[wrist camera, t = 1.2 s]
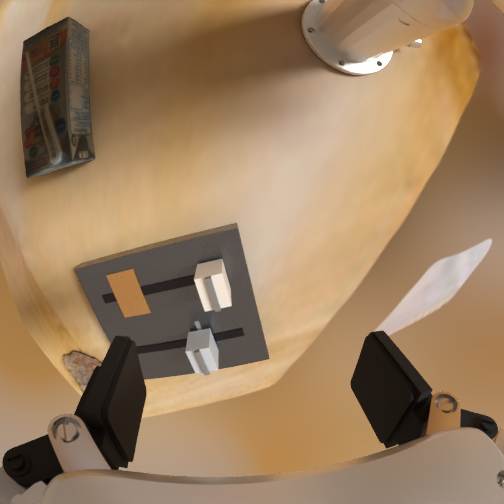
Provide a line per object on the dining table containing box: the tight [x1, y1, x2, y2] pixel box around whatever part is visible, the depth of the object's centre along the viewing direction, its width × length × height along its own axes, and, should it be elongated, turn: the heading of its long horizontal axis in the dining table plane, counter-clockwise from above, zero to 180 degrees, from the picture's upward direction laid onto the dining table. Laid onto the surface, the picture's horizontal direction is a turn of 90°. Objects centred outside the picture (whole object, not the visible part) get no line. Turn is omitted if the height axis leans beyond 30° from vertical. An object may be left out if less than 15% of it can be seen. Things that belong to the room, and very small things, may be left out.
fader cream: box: [194, 259, 232, 312], centre depth 31 cm, size 3×4×4 cm
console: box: [75, 223, 269, 379], centre depth 36 cm, size 22×20×2 cm
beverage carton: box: [20, 17, 95, 178], centre depth 22 cm, size 8×19×7 cm, turn 6°
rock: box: [64, 351, 102, 393], centre depth 38 cm, size 9×6×10 cm
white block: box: [185, 328, 218, 375], centre depth 34 cm, size 3×4×4 cm
